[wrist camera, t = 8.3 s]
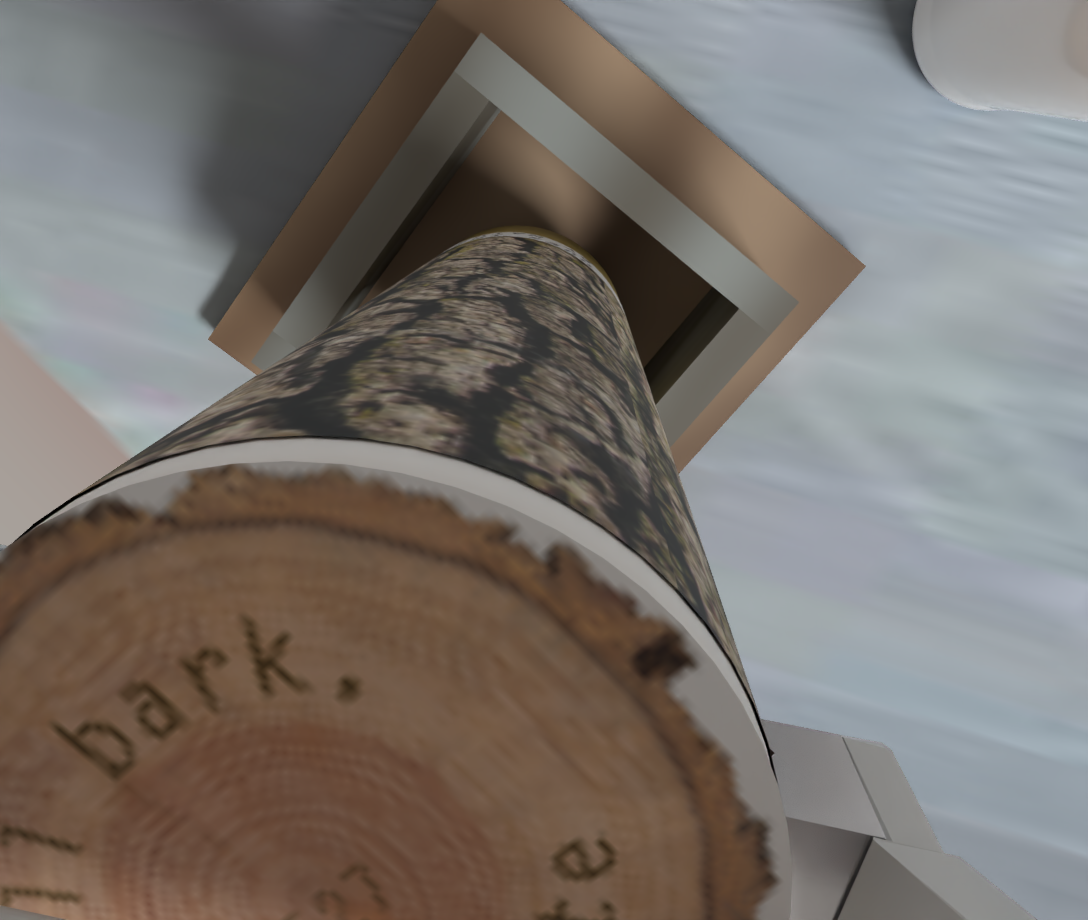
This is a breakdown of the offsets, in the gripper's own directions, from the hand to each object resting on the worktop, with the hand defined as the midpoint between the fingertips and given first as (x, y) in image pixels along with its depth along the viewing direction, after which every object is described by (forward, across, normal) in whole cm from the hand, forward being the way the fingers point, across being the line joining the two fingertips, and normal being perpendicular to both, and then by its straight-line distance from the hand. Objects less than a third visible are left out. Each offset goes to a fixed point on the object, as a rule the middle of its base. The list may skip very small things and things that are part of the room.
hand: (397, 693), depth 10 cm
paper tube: (+22, 0, +1) cm, 22 cm away
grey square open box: (+25, 0, 0) cm, 25 cm away
